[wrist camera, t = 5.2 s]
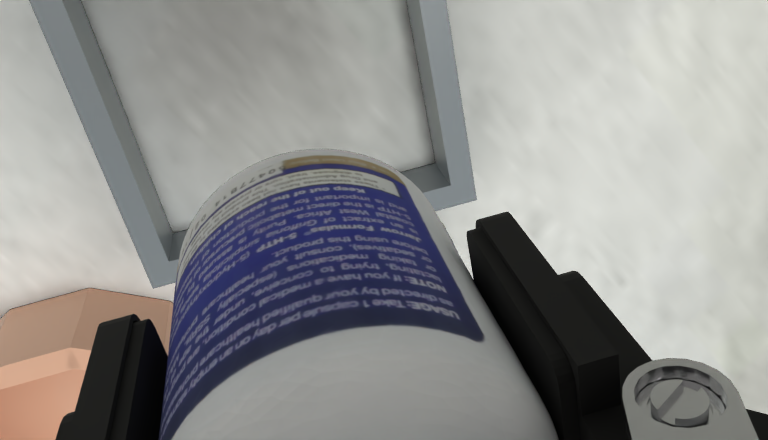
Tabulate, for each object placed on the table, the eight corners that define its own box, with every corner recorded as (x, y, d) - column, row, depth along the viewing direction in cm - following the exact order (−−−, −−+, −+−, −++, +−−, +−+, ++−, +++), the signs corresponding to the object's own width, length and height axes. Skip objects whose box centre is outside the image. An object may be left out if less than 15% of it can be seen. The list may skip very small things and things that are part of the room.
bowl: (-101, 339, 31) (-147, 407, 27) (195, 259, 32) (190, 313, 28) (29, 534, 37) (6, 612, 33) (273, 461, 38) (278, 529, 34)
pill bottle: (119, 281, 14) (-26, 854, 6) (311, 84, 13) (443, 462, 5) (319, 410, 16) (404, 939, 8) (494, 254, 15) (780, 689, 7)
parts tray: (19, -75, 25) (-1, -70, 23) (404, -164, 26) (420, -166, 24) (158, 258, 32) (153, 288, 29) (460, 177, 33) (476, 199, 30)
